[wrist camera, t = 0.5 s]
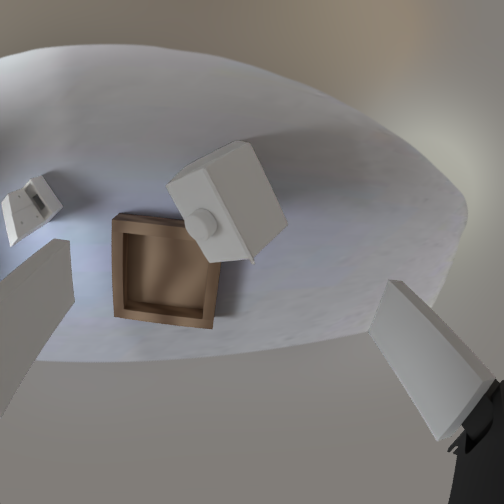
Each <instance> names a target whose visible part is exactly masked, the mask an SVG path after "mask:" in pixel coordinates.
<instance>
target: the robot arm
mask: <svg viewBox="0 0 504 504" xmlns="http://www.w3.org/2000/svg"><path fill="white" fill-rule="evenodd" d="M74 302H75V299H74V291H73V281H72V270H71V256H70V241H68V240H61V239H53V240H51V241H50V242H49V243H47V244H46V245H45V246H44V247H42V248H41V249H40V250H38V251H37V252H36V253H34V254H33V255H32V256H31V257H29V258H28V259H27V260H26V261H24V262H23V263H22V264H21V265H20V266H18V267H17V268H16V269H15V270H14V271H12V272H11V273H10V274H9V275H8V276H6V277H5V278H4V279H3V280H2V281H1V282H0V418H2V416H3V414H4V412H5V411H6V409H7V407H8V405H9V403H10V401H11V400H12V398H13V396H14V394H15V392H16V391H17V389H18V387H19V386H20V384H21V382H22V380H23V379H24V377H25V375H26V374H27V372H28V371H29V369H30V367H31V365H32V364H33V362H34V361H35V359H36V358H37V356H38V355H39V353H40V352H41V350H42V348H43V347H44V345H45V344H46V342H47V341H48V339H49V338H50V336H51V335H52V333H53V332H54V331H55V329H56V328H57V326H58V325H59V323H60V322H61V320H62V319H63V318H64V316H65V315H66V313H67V312H68V311H69V309H70V308H71V306H72V305H73V304H74ZM368 333H369V334H370V336H371V337H372V339H373V340H374V342H375V343H376V345H377V346H378V348H379V349H380V351H381V352H382V354H383V355H384V357H385V358H386V360H387V362H388V363H389V365H390V366H391V368H392V369H393V371H394V372H395V374H396V375H397V377H398V379H399V380H400V382H401V383H402V385H403V387H404V388H405V390H406V391H407V393H408V395H409V396H410V398H411V399H412V401H413V403H414V404H415V406H416V407H417V409H418V411H419V412H420V414H421V416H422V417H423V419H424V421H425V422H426V424H427V426H428V427H429V429H430V431H431V432H432V434H433V436H434V437H435V439H436V441H440V440H443V439H446V438H448V437H451V436H452V435H453V434H454V433H455V432H456V430H457V429H458V428H459V427H460V426H461V425H462V426H463V428H464V429H465V430H464V431H463V432H462V433H461V435H460V436H459V437H458V438H457V439H456V440H455V441H454V443H453V444H452V445H451V446H450V447H449V448H448V452H450V451H451V450H452V449H453V448H454V447H455V446H458V448H457V449H456V450H455V451H454V452H453V453H454V454H456V455H457V460H456V466H455V473H454V478H453V484H452V489H451V494H450V498H449V503H448V504H504V380H502V381H501V383H499V382H498V381H497V380H496V379H495V378H496V377H495V376H494V375H493V374H492V373H491V372H490V370H489V369H488V368H487V367H486V366H485V365H484V364H483V363H482V361H481V360H480V359H479V358H478V357H477V356H476V355H475V354H474V353H473V352H472V351H471V349H470V348H469V347H468V346H467V345H466V344H465V343H464V342H463V341H462V340H461V339H460V338H459V337H458V336H457V335H456V334H455V333H454V332H453V330H451V328H450V327H449V326H447V324H446V323H445V322H444V321H442V319H441V318H440V317H439V316H438V315H437V314H436V313H435V312H434V311H433V310H432V309H431V308H430V307H429V306H428V305H427V304H425V303H424V302H423V301H422V300H421V299H420V298H419V297H418V296H417V295H416V294H415V293H414V292H413V291H412V290H411V289H410V288H409V287H408V286H407V285H406V284H405V283H403V282H402V281H397V280H388V283H387V285H386V288H385V291H384V294H383V296H382V299H381V301H380V304H379V307H378V309H377V312H376V314H375V317H374V319H373V322H372V324H371V327H370V329H369V331H368Z"/></svg>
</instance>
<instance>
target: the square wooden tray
mask: <svg viewBox="0 0 504 504" xmlns="http://www.w3.org/2000/svg"><path fill="white" fill-rule="evenodd" d="M220 268H221V262H215V263H210V262H209V261H208V260H207V259H206V257H205V255H204V254H203V252H202V250H201V249H200V247H199V245H198V243H197V242H196V240H195V239H193V238H192V237H191V236H190V234H189V233H188V232H187V230H186V227H185V221H184V220H178V219H169V218H160V217H151V216H142V215H133V214H124V213H119V214H118V215H117V216H115V217H114V218H113V219H112V287H113V305H114V317H119V318H126V319H132V320H139V321H146V322H154V323H161V324H169V325H177V326H186V327H195V328H205V329H212V328H213V320H214V312H215V305H216V297H217V290H218V282H219V275H220Z"/></svg>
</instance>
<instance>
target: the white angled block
mask: <svg viewBox="0 0 504 504" xmlns="http://www.w3.org/2000/svg"><path fill="white" fill-rule="evenodd" d="M39 197H40V198H39ZM41 200H42V201H43V202H42V201H41ZM43 203H44V204H45V205H44V204H43ZM1 204H2V210H3V215H4V220H5V225H6V230H7V234H8V239H9V243H10V247H12V246H13V245H15V244H16V243H18V242H19V241H21V240H22V239H24V238H25V237H27V236H28V235H30V234H31V233H33V232H34V231H36V230H37V229H39V228H40V227H42V226H43V225H45V224H47V223H48V222H49V221H50V220H51V219H52V218H53V217H54V216H55V215H56V214H57V213H58V212H59V211H60V210H61V209H62V208H63V205H62V204H61V203H60V201H59V200H58V198H57V197H56V196H55V194H54V193H53V191H52V190H51V188H50V187H49V185H48V184H47V182H46V181H45V179H44V178H43V176H42V175H41V176H38V177H35V178H32V179H30V180H29V181H28V182H27V184H26V185H25V186H24V187H23V188H21V189H19V190H16V191H14V192H11V193H8V194H7V196H6V197H5V199H4V200H3V201H2V203H1Z"/></svg>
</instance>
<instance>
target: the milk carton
mask: <svg viewBox="0 0 504 504" xmlns="http://www.w3.org/2000/svg"><path fill="white" fill-rule="evenodd" d="M166 188H167V190H168V192H169V194H170V196H171V197H172V199H173V201H174V203H175V205H176V206H177V208H178V210H179V212H180V214H181V215H182V217H183V219H184V221H185V227H186V230H187V232H188V233H189V234H190V236H191V237H192V238H193V239H195V240H196V242H197V243H198V245H199V247H200V249H201V250H202V252H203V254H204V255H205V257H206V259H207V260H208V261H209V262H210V263H215V262H225V261H236V260H246V259H249V260H250V262H251V263H252V264H253V265H254V264H255V262H254V257H255V256H256V255H257V254H258V253H259V252H260V251H261V250H262V249H263V248H264V247H265V246H266V245H267V244H268V243H269V242H271V241H272V240H273V239H274V238H275V237H276V236H277V235H278V234H279V233H280V232H281V231H282V230H283V229H284V228H285V227H286V226H287V225H288V223H287V220H286V218H285V216H284V213H283V211H282V209H281V207H280V205H279V202H278V200H277V198H276V196H275V194H274V191H273V189H272V187H271V185H270V183H269V181H268V179H267V177H266V174H265V172H264V170H263V168H262V166H261V164H260V162H259V160H258V158H257V156H256V153H255V151H254V149H253V147H252V146H251V144H250V143H248V142H243V141H238V140H236V141H234V142H232V143H230V144H228V145H226V146H224V147H222V148H220V149H218V150H216V151H214V152H212V153H210V154H208V155H206V156H204V157H202V158H200V159H198V160H196V161H194V162H192V163H190V164H188V165H186V166H185V167H184V168H183V169H182V170H181V171H180V172H179V173H178V174H177V175H176V176H175V177H174V178H173V179H172V180H171V181H170V182H169V183H168V184H167V185H166Z"/></svg>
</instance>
